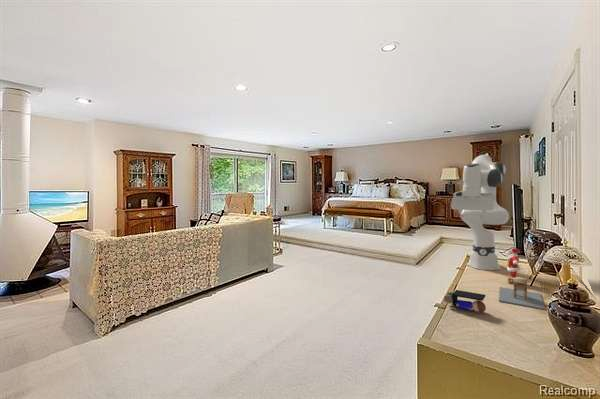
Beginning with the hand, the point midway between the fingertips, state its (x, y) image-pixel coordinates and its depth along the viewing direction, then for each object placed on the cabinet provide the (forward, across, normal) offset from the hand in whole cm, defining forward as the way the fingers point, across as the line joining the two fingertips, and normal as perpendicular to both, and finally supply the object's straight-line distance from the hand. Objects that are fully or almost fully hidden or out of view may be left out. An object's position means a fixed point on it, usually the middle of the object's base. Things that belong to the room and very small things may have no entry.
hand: (471, 218), depth 156 cm
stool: (+34, -21, +16) cm, 43 cm away
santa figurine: (+35, -19, -8) cm, 41 cm away
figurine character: (+36, -1, +43) cm, 56 cm away
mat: (+35, -21, +16) cm, 44 cm away
